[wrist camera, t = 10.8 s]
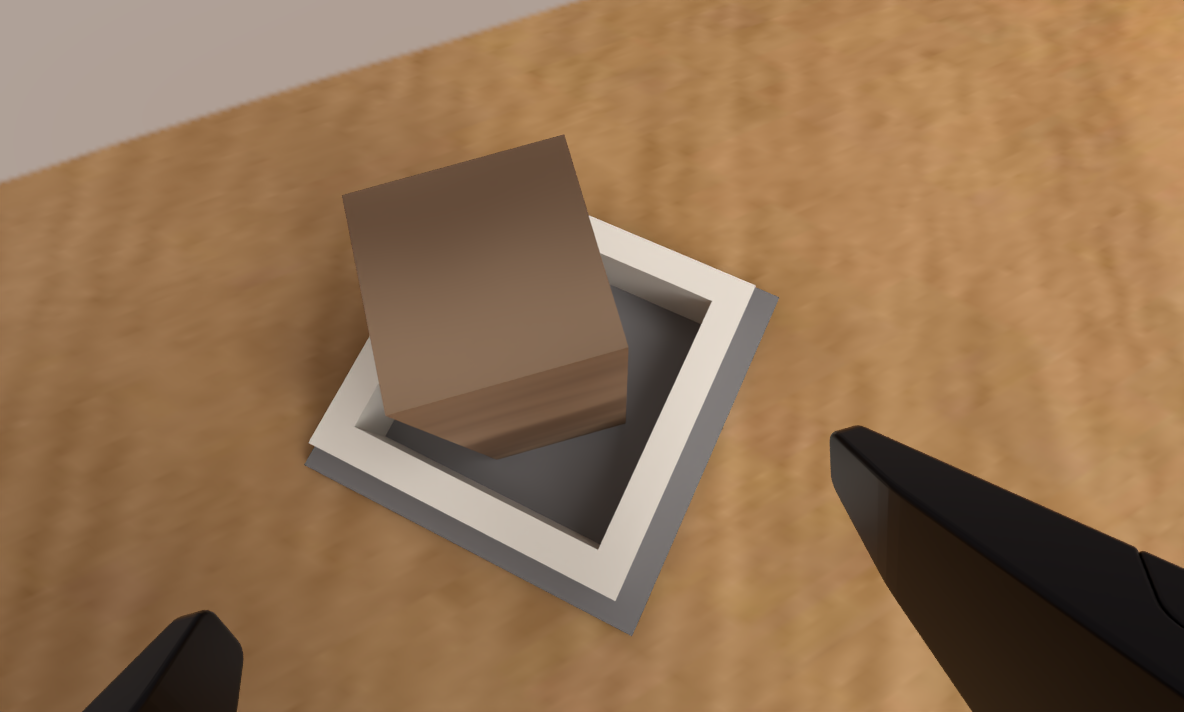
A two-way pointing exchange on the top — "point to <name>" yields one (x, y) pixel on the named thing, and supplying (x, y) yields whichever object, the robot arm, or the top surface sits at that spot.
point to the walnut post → (490, 302)
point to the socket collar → (576, 443)
